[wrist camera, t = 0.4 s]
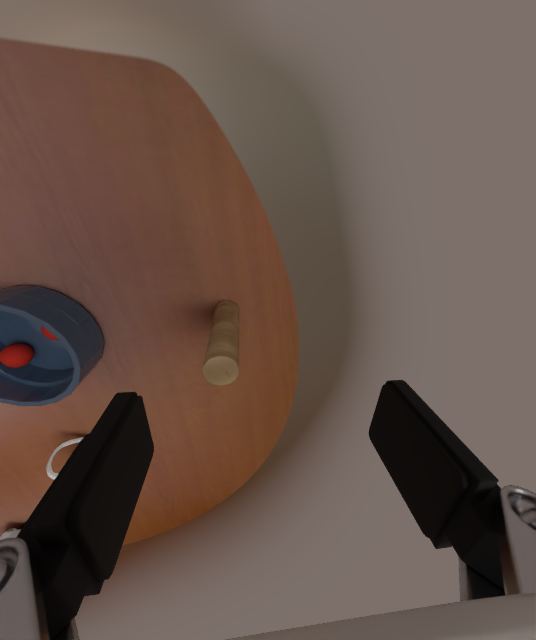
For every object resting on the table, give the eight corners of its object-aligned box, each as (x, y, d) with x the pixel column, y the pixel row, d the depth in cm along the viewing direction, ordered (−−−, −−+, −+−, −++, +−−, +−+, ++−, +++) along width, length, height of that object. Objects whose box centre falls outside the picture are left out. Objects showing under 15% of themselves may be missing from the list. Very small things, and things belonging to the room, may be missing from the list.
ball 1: (7, 346, 31) (-15, 359, 28) (24, 334, 31) (3, 347, 28) (29, 361, 32) (10, 376, 30) (45, 351, 32) (27, 364, 29)
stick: (210, 307, 32) (194, 367, 21) (230, 295, 32) (225, 350, 20) (224, 325, 34) (216, 390, 22) (243, 314, 33) (246, 374, 22)
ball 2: (46, 319, 30) (28, 330, 27) (64, 307, 30) (47, 317, 27) (67, 336, 31) (51, 349, 29) (84, 325, 31) (70, 336, 28)
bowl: (-40, 320, 30) (-101, 347, 24) (39, 262, 28) (-9, 277, 22) (57, 388, 35) (24, 422, 30) (127, 344, 33) (106, 372, 28)
